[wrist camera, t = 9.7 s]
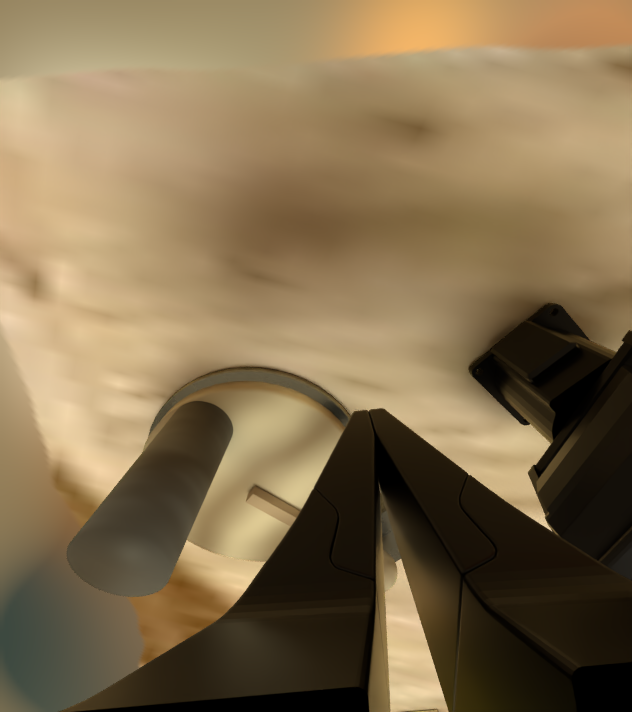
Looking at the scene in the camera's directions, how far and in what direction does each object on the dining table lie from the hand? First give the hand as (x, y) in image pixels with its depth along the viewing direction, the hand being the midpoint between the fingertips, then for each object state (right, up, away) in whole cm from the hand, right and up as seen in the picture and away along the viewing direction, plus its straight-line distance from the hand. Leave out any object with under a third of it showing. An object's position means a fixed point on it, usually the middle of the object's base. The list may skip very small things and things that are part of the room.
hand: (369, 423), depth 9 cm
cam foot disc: (-4, -9, +16) cm, 18 cm away
